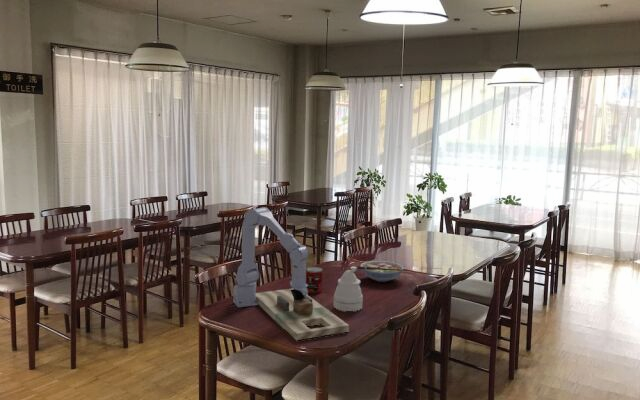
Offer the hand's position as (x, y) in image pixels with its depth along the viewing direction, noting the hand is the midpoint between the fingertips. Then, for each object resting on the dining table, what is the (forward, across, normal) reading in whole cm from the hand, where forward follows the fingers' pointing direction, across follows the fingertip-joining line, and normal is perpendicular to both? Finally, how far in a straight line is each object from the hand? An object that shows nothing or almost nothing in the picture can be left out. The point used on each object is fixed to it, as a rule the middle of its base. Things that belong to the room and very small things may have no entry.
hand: (298, 306), depth 217 cm
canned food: (+4, +27, -20) cm, 34 cm away
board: (+4, +1, 0) cm, 4 cm away
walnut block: (+1, -5, 0) cm, 5 cm away
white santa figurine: (+4, +2, -25) cm, 25 cm away
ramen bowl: (+4, +31, -61) cm, 69 cm away
